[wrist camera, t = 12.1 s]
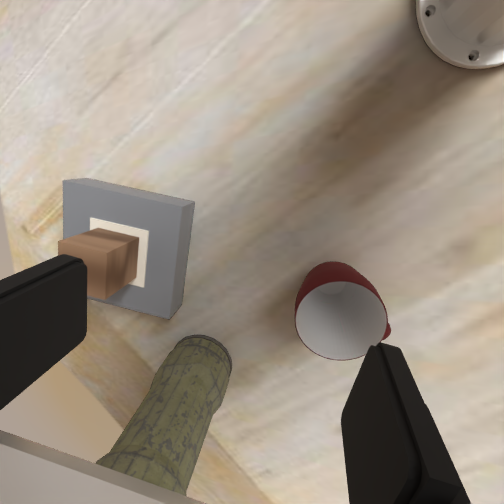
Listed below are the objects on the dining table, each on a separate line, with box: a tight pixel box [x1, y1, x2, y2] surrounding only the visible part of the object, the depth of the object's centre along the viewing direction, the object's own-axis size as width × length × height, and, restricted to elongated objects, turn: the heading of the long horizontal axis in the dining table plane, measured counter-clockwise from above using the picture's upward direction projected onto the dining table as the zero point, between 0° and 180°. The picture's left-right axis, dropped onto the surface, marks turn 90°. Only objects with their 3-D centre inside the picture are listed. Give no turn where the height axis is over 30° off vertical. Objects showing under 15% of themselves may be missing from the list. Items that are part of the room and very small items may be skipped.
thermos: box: [95, 335, 232, 496], centre depth 26 cm, size 9×12×35 cm
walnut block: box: [58, 228, 139, 300], centre depth 32 cm, size 5×5×6 cm
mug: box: [295, 262, 391, 360], centre depth 32 cm, size 10×8×10 cm
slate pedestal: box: [63, 178, 195, 319], centre depth 37 cm, size 14×14×4 cm
